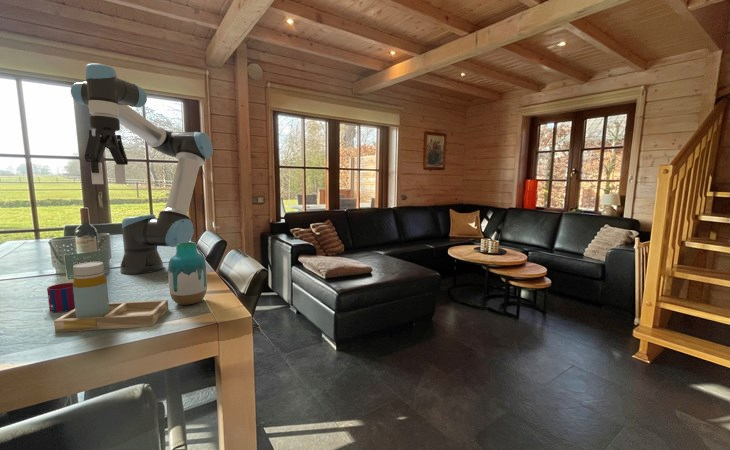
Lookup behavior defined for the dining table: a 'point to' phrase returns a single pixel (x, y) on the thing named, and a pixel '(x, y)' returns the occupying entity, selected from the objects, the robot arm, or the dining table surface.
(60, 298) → the mug
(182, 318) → the dining table surface
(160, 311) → the caddy
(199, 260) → the vase
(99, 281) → the bottle
